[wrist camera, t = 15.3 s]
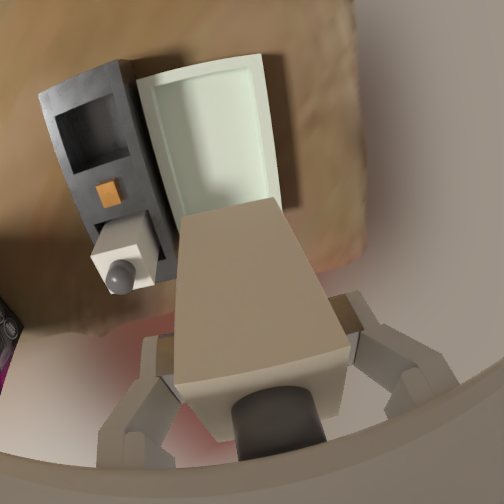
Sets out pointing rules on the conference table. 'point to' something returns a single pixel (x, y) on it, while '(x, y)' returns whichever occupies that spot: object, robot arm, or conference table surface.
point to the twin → (255, 332)
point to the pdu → (110, 154)
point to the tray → (212, 134)
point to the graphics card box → (7, 339)
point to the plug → (127, 253)
